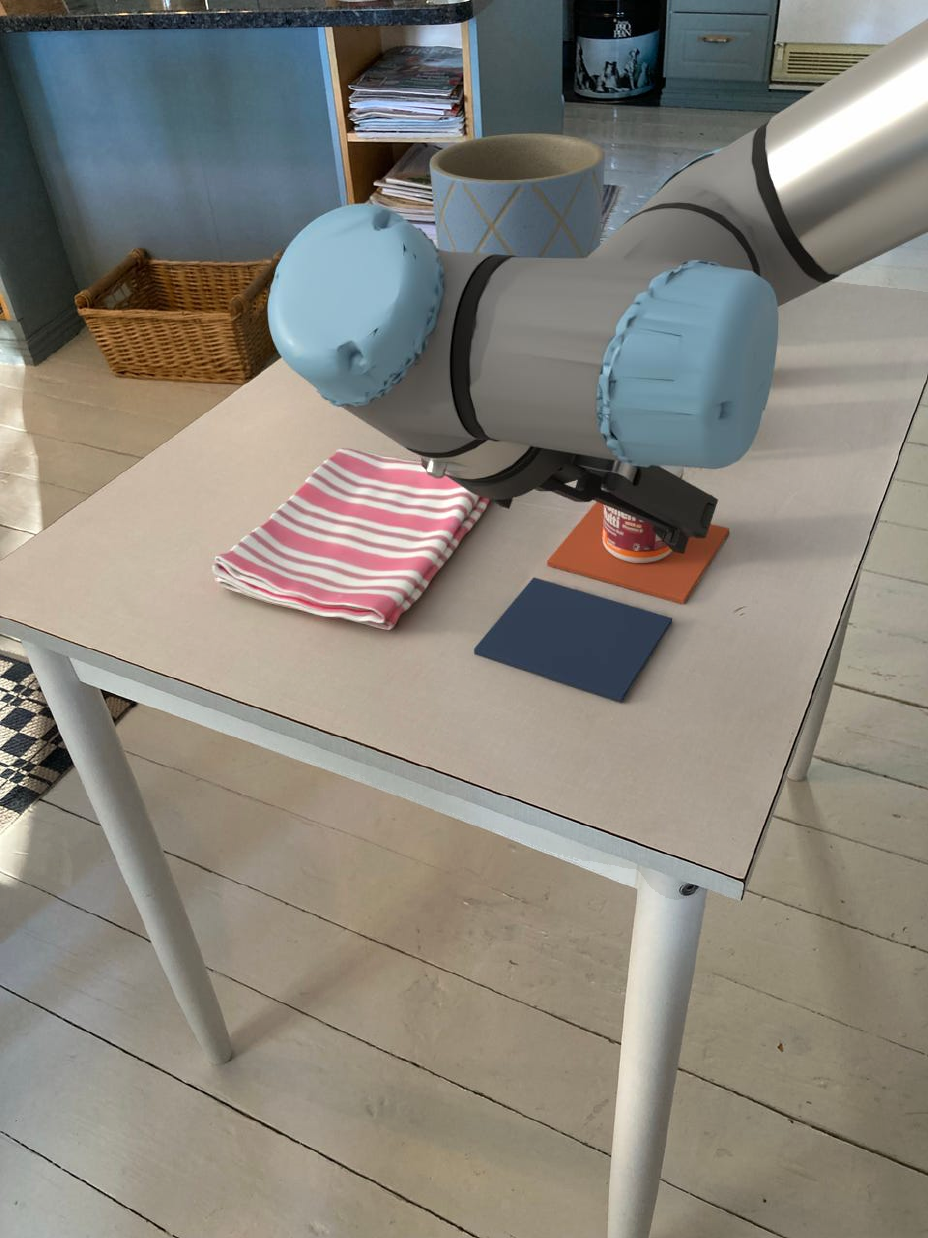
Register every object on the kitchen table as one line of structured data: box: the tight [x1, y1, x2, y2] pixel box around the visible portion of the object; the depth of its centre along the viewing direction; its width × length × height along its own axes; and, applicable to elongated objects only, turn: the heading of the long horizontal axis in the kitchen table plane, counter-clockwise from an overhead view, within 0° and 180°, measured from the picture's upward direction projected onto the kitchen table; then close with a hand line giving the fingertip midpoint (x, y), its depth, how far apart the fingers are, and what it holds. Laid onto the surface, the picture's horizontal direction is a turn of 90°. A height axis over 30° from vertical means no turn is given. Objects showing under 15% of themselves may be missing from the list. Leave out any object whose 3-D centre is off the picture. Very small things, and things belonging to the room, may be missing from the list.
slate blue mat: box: [473, 577, 673, 704], centre depth 76 cm, size 12×10×1 cm
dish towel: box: [211, 447, 491, 631], centre depth 87 cm, size 17×23×4 cm
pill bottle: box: [603, 465, 685, 563], centre depth 81 cm, size 6×6×11 cm
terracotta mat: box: [546, 501, 730, 605], centre depth 84 cm, size 12×11×1 cm
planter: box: [429, 133, 606, 259], centre depth 114 cm, size 19×19×20 cm
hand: (594, 511), depth 72 cm, fingers open, 13 cm apart
